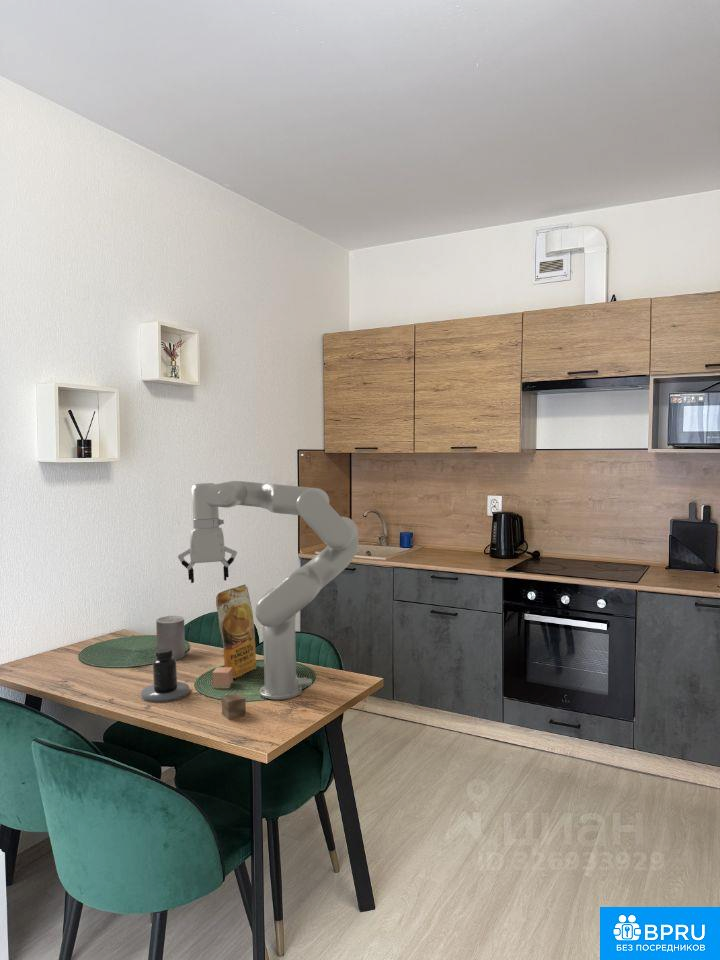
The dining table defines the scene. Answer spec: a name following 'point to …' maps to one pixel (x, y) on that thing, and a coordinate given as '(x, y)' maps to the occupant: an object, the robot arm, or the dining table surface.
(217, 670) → the terracotta block
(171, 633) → the pillar candle
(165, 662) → the supplement bottle
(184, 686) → the charcoal plate
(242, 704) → the walnut block
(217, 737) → the dining table surface
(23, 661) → the dining table surface
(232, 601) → the pancake mix bag
